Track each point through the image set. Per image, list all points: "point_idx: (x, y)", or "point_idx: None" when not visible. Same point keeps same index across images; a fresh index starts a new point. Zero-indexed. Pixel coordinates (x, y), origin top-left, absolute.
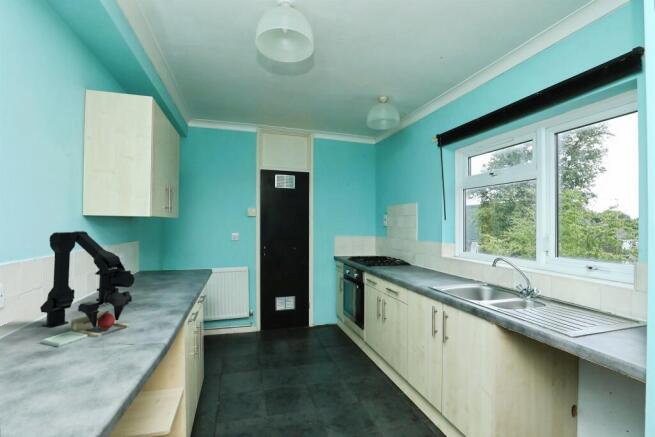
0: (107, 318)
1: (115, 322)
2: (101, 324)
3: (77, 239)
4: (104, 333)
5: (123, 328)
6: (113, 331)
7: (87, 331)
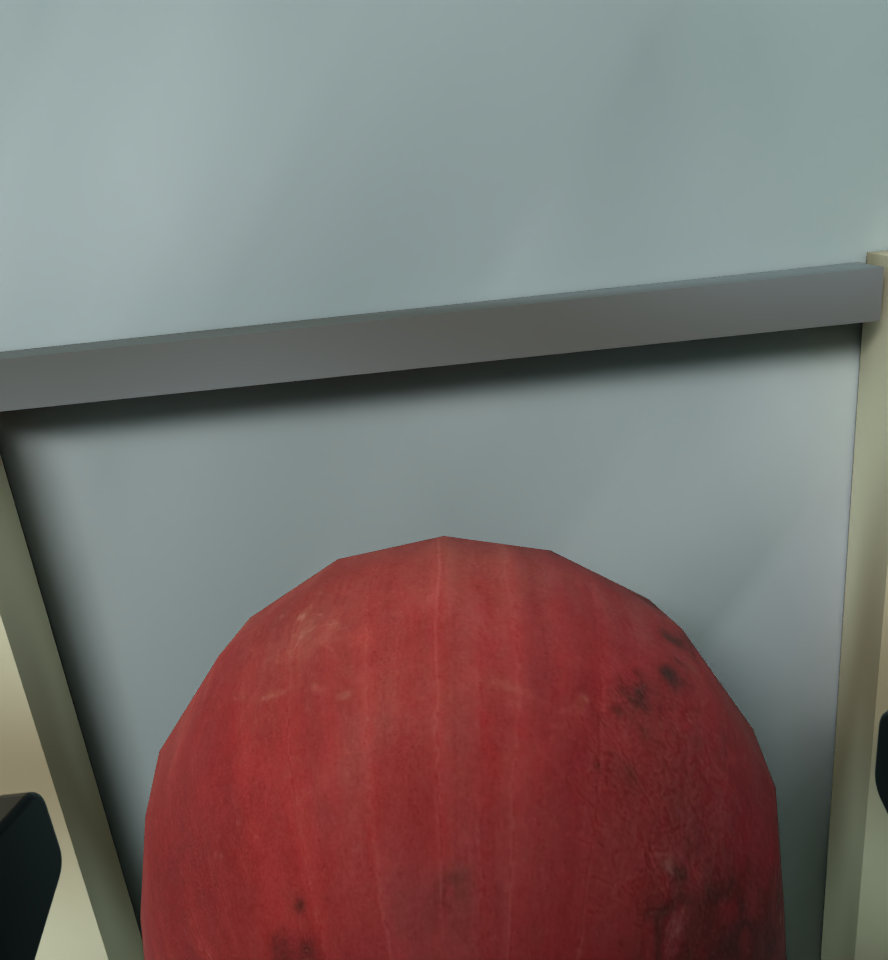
0: (597, 781)
1: None
2: (731, 703)
3: None
4: (749, 301)
5: (73, 347)
6: (437, 309)
7: (880, 803)
